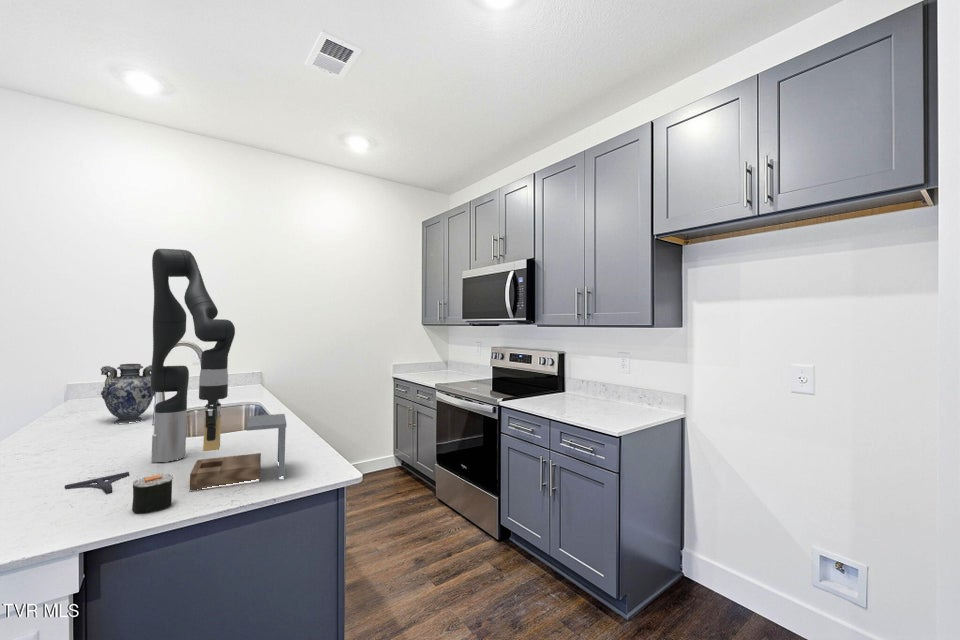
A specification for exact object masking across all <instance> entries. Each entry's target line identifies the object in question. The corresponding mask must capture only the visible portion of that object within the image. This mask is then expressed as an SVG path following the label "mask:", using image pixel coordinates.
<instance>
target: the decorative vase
mask: <svg viewBox="0 0 960 640" xmlns="http://www.w3.org/2000/svg"><path fill="white" fill-rule="evenodd" d="M141 369H143V370H142V375H141V371H140V370H141ZM151 369H152V364H150V365H147V366H146V367H145V368H144V366H143V365H142V364H141V363H123V364H121V363H120V364H119V366H117V368H115V367H113V366H111V365H105V366H102V367H101V368H100V372H101V373H100V375H101V376H105V381H104V386H103V388H102V391H101V392H100V395H101V398H102V399H103V401H104V404H105V406H106V409H107V410H108V411H109V413H110V414H111V415H113V416H114V417H116V418H117V419H116V420H114V421H113V423H114V424H115V423H129V422H136V421H140V422H142V421H143V419H144V418H142V417H141V415H142V414H143V415H144V413H145V412H146V411H147V410H148V408H149V407H150V405H151V404H152V402H153V398H154V397H155V395H156V392H154V391H152V389H151ZM118 370H119V371H120V372H119V375H120V376H118ZM141 420H142V421H141ZM136 423H137V422H136Z"/></svg>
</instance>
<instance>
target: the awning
mask: <svg viewBox="0 0 960 640" xmlns="http://www.w3.org/2000/svg"><path fill="white" fill-rule="evenodd" d="M247 418H248V419H247V423H246V432H247V431H249V432H250V431H259V430H260V431H261V430H269V429H270V430H273V429H277V430H278V431H277V433H278V434H277V461H278V462H279V466H278V475H279V477H281V476H284V477H285V463H286V462H285V461H286V460H285V458H286V428H287V418H286V414H285V413H278V414H277V413H276V414H275V413H274V414H263V415H249V416H248V417H247Z"/></svg>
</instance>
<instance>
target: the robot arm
mask: <svg viewBox="0 0 960 640" xmlns="http://www.w3.org/2000/svg"><path fill="white" fill-rule="evenodd" d="M151 262H152V263H151V265H152V266H151V267H152V281H153V311H152V313H153V314H152V359H151V365H152V369H151V372H150V374H151V389H152V391H154V392H155V393H170V392H173V393H174V392H176V393H175V395H173V396H172V397H170V398H168V399H165V400H161V401H159V402H157V403H156V404H155V405H154V424H153V425H154V427H153V434H152V438H151V458H150V459H151V462H150V463H153V462H154V463H157V462H165V463H169V462H168V461H172V462H174V461H173V460H177V459H180V460H182V459H181V458H183V457H184V456H185V457H186V453H187V452H186V446H187V445H186V444H187V443H186V442H187V415H188V414H187V413H188V411H187V410H188V389H189V379H190V378H189V377H190V371H189V368H188V367H187V365H164V362H165V361H166V358H167V357H168V355H169V354H170V353H171V351H172V350H173V349H174V348H175V347H176V345H177V344H178V343H180V341H182V338H184V336H185V334H186V332H187V313H186V311H185V309H184V307H183V305H181V303H180V302H179V301H178V300H177V298H176V297H175V296H174V294H173V292H172V291H171V287H170V283H169V280H170V279H169V278H186V279H187V280H188V285H187V288H186V289H185V292H184V296H183V297H184V304H185V305H186V307H187V309H188V311H189V313H190V314H191V316H192V321H193V327H194V328H193V329H194V335H195V336H196V338H197V339H198V340H199V341H202V342H204V343H205V342H206V343H208V342H209V343H213V342H215V345H214V347H212V348H209V349H205V350H203V351H202V352H201V355H200V356H201V357H200V374H199V385H198V399H199V400H201V401H207V404H205V405H204V418H205V420H206V425H205V427H206V428H207V441H213V440H215V438H216V427H217V425H216V421H217V420H218V418H219V415H221V408H222V403H221V402H219V400H223V399H226V398H227V397H229V393H228V391H229V372H228V367H229V366H228V362H229V353H230V350H231V347H232V344H233V341H234V338H235V336H236V328H235V324H234V323H233V322H232V321H231V320H229V319H219V318H218V319H216V317H218V314H219V310H218V307H217V305H216V304H215V302H214V300H213V299H212V298H211V296H210V294H209V292H208V291H207V288H206V286H205V282H204V279H203V276H202V274H201V273H202V272H201V271H200V268H199V265H198V263H197V260H196V258H195V256H194V254H193V253H192V252H191V251H189V250H186V249H179V248H178V249H176V248H156V249H155V250H154V252H153V254H152V259H151ZM216 415H217V416H216ZM209 421H213V423H209ZM185 457H184V458H185ZM184 458H183V459H184ZM177 461H178V460H177Z"/></svg>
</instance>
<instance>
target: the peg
mask: <svg viewBox="0 0 960 640" xmlns="http://www.w3.org/2000/svg"><path fill="white" fill-rule="evenodd" d="M216 416H217V415H216ZM203 419H204V422H203V447H202V448H203V449H202V451H203V452H209V451H210V452H211V451H212V452H213V451H219V450H220V448H221V433H222V432H221V430H222V426H221V425H222V414H220V415H219V418H218V420H217V421H216V425H217V427H216V438H215V440H213V441H207V428H206V427H205V425H206V420H205V417H204V418H203ZM209 423H213V421H209Z"/></svg>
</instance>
